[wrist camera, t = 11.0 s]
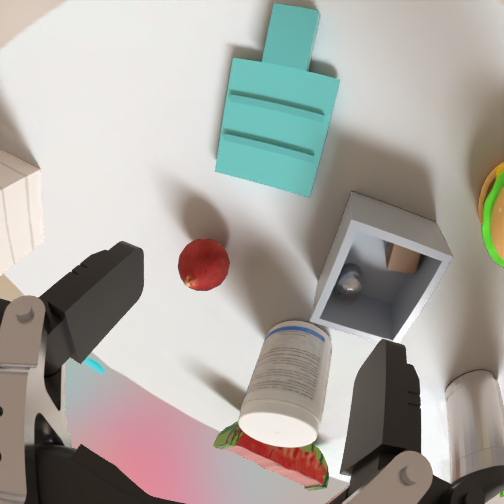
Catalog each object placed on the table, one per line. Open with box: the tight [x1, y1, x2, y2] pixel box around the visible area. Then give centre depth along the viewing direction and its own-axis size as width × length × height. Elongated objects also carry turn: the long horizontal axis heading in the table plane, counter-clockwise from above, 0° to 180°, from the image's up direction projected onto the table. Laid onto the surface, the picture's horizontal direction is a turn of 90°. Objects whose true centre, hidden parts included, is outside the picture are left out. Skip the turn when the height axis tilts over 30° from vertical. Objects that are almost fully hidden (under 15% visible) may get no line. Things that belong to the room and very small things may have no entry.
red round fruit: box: [178, 239, 230, 291], centre depth 36 cm, size 6×6×8 cm
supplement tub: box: [238, 321, 332, 448], centre depth 37 cm, size 10×10×15 cm
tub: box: [310, 191, 453, 343], centre depth 30 cm, size 10×12×7 cm
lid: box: [215, 3, 340, 197], centre depth 27 cm, size 10×18×3 cm, turn 170°
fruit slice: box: [213, 421, 329, 491], centre depth 54 cm, size 26×6×10 cm, turn 53°
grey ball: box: [336, 263, 362, 300], centre depth 33 cm, size 3×3×3 cm
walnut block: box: [385, 242, 421, 274], centre depth 30 cm, size 3×3×3 cm
